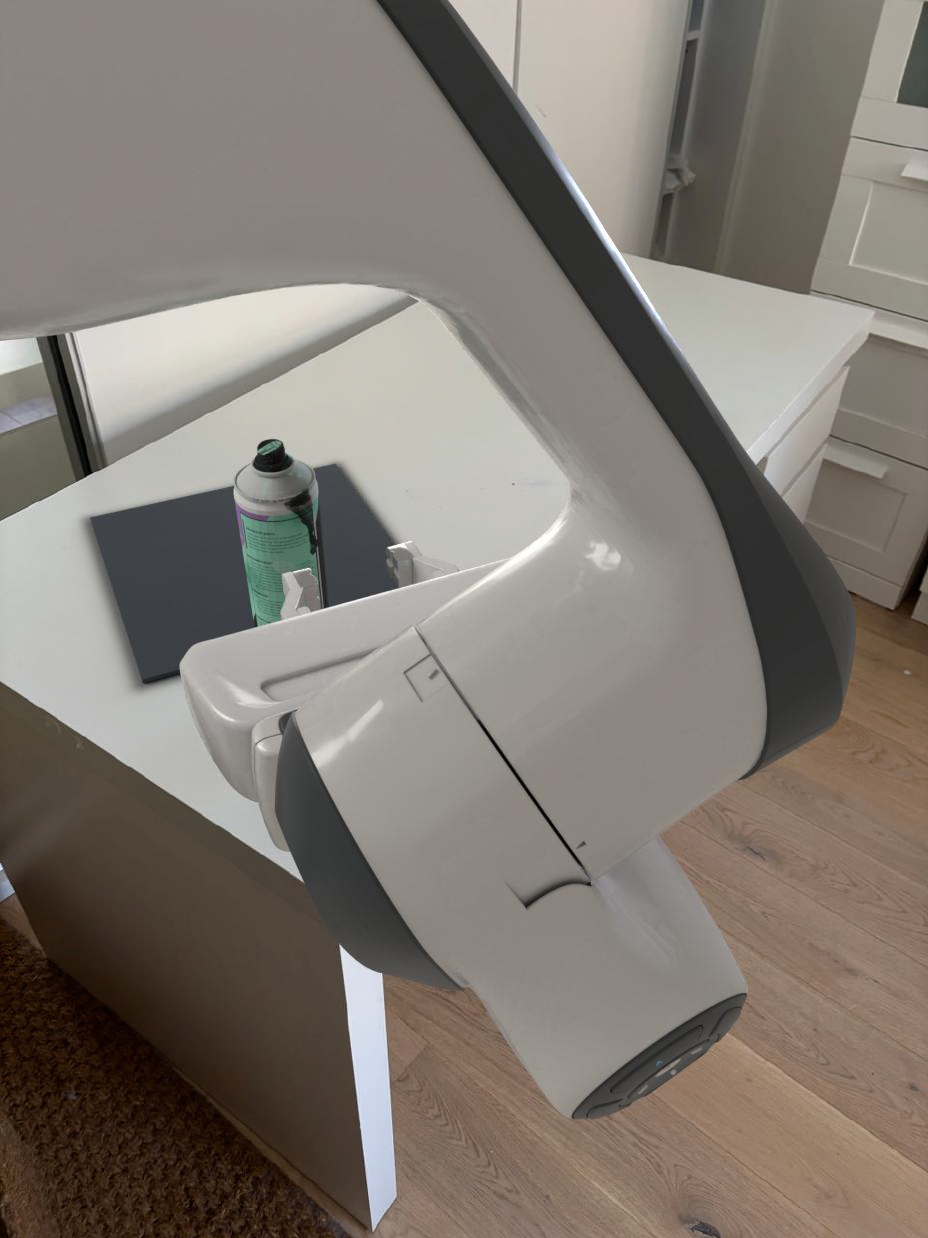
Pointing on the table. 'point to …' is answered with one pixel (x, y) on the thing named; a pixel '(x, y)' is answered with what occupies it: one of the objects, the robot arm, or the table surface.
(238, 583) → the mat
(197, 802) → the table surface
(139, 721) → the table surface
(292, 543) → the spray can
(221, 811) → the table surface
